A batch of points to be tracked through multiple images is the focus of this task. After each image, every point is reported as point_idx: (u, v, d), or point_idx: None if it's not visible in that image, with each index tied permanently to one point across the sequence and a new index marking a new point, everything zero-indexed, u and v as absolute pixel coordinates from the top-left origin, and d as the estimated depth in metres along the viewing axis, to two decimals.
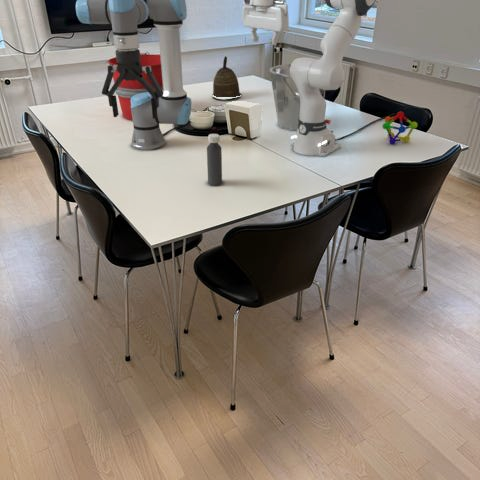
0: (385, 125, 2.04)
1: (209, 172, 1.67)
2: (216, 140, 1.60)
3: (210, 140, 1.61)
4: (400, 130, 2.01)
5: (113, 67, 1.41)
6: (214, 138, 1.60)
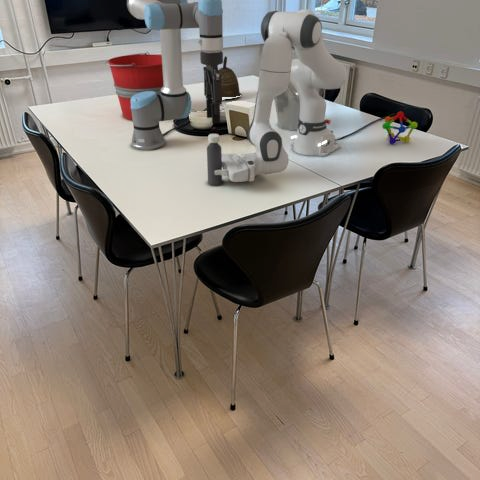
0: (385, 125, 2.04)
1: (209, 172, 1.67)
2: (216, 140, 1.60)
3: (210, 140, 1.61)
4: (400, 130, 2.01)
5: None
6: (214, 138, 1.60)
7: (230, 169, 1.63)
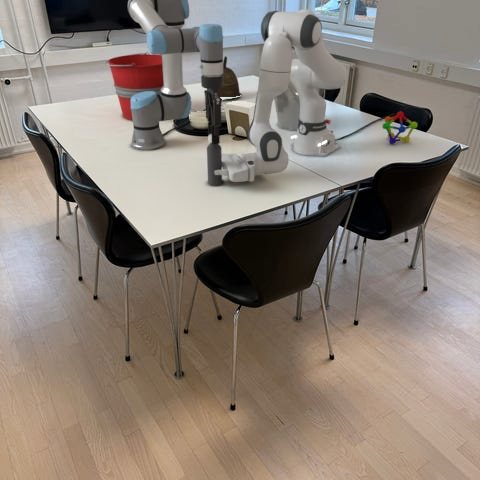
0: (385, 125, 2.04)
1: (209, 172, 1.67)
2: None
3: (210, 140, 1.61)
4: (400, 130, 2.01)
5: None
6: None
7: (230, 169, 1.63)
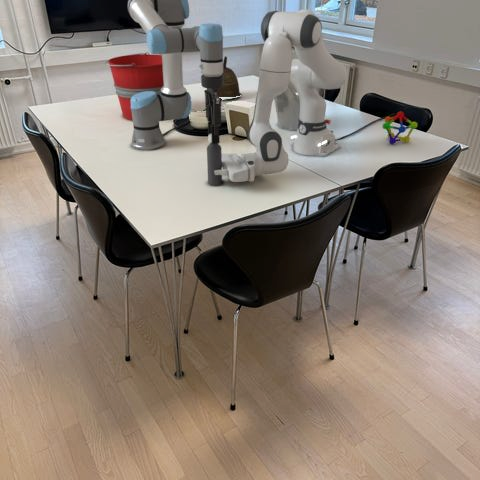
0: (385, 125, 2.04)
1: (209, 172, 1.67)
2: None
3: None
4: (400, 130, 2.01)
5: None
6: None
7: (230, 169, 1.63)
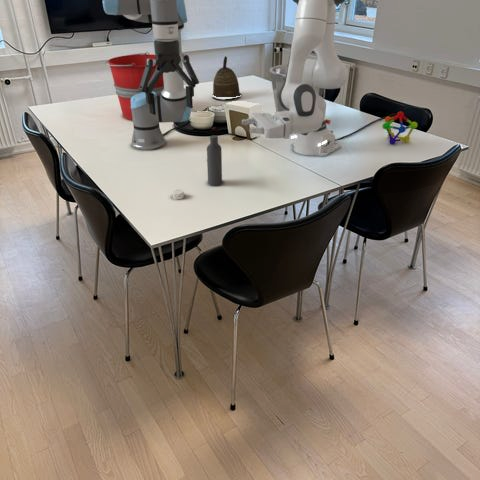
0: (385, 125, 2.04)
1: (209, 172, 1.67)
2: (183, 194, 1.61)
3: (180, 196, 1.59)
4: (400, 130, 2.01)
5: (153, 60, 1.33)
6: (183, 193, 1.60)
7: (265, 125, 1.58)
